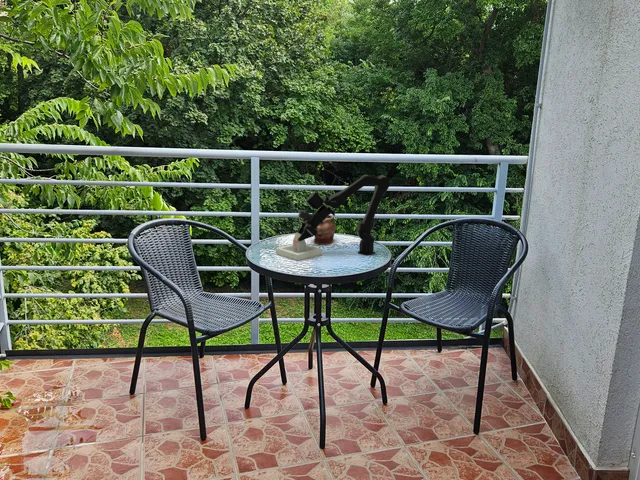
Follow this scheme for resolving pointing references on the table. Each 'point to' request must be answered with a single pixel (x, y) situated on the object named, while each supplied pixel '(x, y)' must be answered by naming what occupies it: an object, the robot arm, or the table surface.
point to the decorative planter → (326, 231)
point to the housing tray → (288, 253)
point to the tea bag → (298, 244)
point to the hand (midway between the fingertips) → (297, 238)
